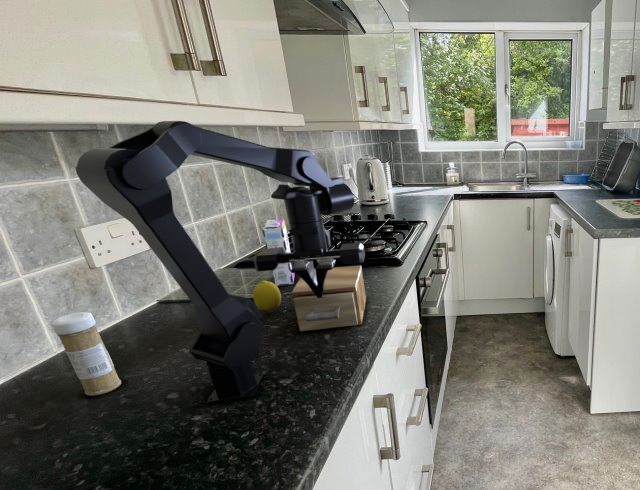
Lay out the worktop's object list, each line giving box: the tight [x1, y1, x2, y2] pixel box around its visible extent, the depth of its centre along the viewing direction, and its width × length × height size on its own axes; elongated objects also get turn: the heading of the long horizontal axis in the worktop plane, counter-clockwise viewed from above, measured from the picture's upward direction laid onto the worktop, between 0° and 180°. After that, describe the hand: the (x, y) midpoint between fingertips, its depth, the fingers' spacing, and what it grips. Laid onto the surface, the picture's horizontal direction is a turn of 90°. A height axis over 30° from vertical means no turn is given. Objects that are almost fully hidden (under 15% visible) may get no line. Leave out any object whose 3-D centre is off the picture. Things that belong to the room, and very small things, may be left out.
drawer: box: [293, 290, 359, 332], centre depth 90 cm, size 18×11×7 cm, turn 14°
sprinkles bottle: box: [50, 311, 122, 397], centre depth 66 cm, size 5×5×13 cm
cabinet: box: [291, 264, 367, 332], centre depth 94 cm, size 15×13×9 cm
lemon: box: [252, 280, 282, 313], centre depth 95 cm, size 6×6×8 cm
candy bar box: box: [261, 218, 296, 287], centre depth 114 cm, size 11×5×16 cm, turn 25°
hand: (320, 297), depth 82 cm, fingers closed
